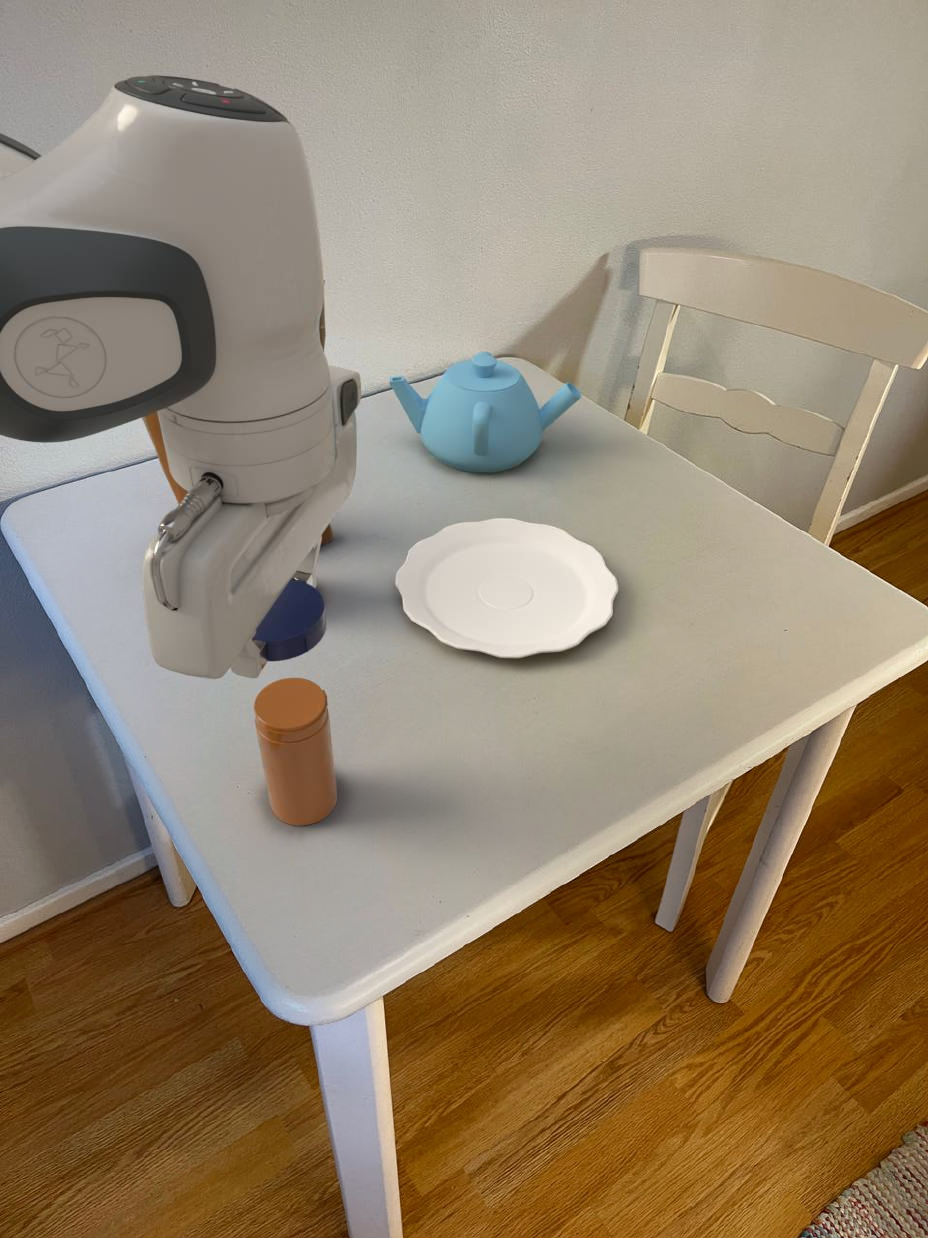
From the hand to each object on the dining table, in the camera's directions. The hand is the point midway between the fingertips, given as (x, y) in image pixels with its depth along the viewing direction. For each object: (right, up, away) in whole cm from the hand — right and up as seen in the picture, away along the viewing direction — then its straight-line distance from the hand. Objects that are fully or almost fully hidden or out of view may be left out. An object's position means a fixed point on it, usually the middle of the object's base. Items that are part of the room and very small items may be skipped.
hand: (277, 629), depth 56 cm
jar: (0, -13, +11) cm, 17 cm away
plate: (+16, +3, +30) cm, 34 cm away
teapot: (+14, +21, +51) cm, 57 cm away
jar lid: (0, +1, -1) cm, 1 cm away
